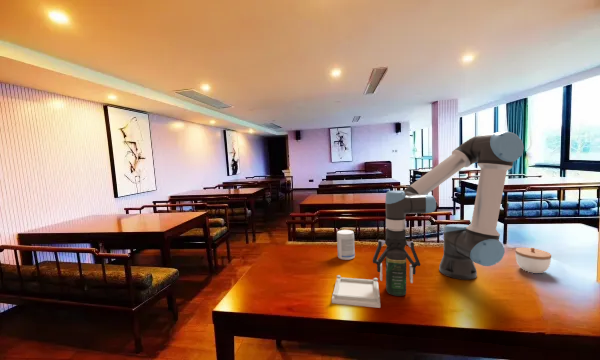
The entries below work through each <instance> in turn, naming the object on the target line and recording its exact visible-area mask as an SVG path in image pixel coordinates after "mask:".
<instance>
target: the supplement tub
mask: <svg viewBox="0 0 600 360" xmlns="http://www.w3.org/2000/svg"><path fill="white" fill-rule="evenodd" d="M336 243H337V244H336V245H337V247H336V249H337V257H338V259H340V260H344V261H349V260H352V259H354V258H355V256H356V252H355V233H354V231H353V230H352V229H351V230H350V229H341V230H340V229H339V230H338V231H337V232H336Z"/></svg>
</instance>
